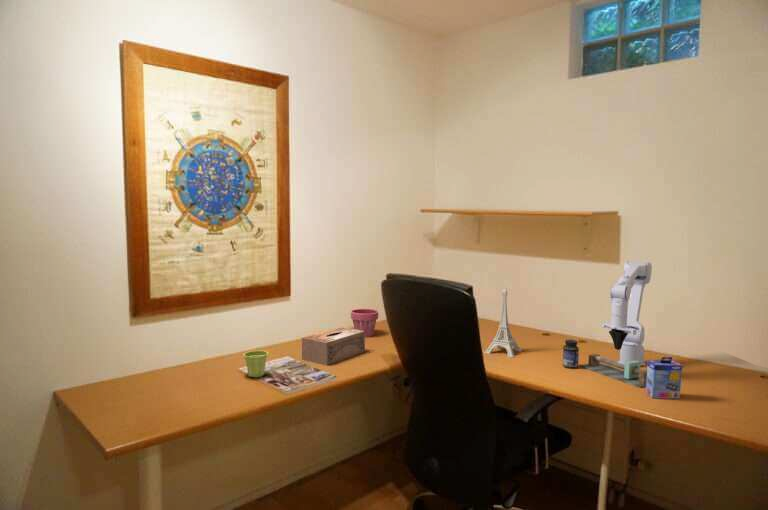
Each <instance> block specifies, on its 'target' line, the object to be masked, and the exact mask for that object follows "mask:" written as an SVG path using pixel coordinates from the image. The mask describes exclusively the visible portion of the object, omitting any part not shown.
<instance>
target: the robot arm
mask: <svg viewBox="0 0 768 510" xmlns="http://www.w3.org/2000/svg"><path fill="white" fill-rule="evenodd" d="M652 268H653V267H652V263H651V262H649V261H647V262H645V261H644V262H643V261H629V260H627V261H625V262H624V265H623V273H624V274H623V275H621V276H620V277H619V279H618V280H617V282H616V283H615V284H613V285H611V287H610V289H609V290H610V291H609V297H610V303H611V317H610V322H608V321H605V322H604V321H603V322H601V327H602V328H606V329H609V332H608V334H609V335H610V337H611V339H612V342H613V347H614V350H619V360H617V361H615V362H618V363H621V364H625V362H629V361H635V360H636V361H639V362H640V367H641V366H646V365H647V364H646V363H645V352H646V351H645V347H644V345H643V343H644V341H645V327H644V326H643V324H642V323H641V322H639V319H640V315H641V306H642V301H643V294H644V289H645V286H646V285H648V284H649V283H650V282H651V279H652V278H651V277H652V271H653V270H652Z"/></svg>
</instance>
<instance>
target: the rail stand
mask: <svg viewBox="0 0 768 510" xmlns="http://www.w3.org/2000/svg"><path fill="white" fill-rule="evenodd" d="M580 367H581V368H583V369H586V370H590V371H592V372H594V373H597V374H600V375H603V376H606V377H608V378H611V379H614V380H617V381H620V382H623V383H625V384H629V385H631V386H634V387H637V388H640V389H641V388H646V381H647V369H644V370H643V369H641V368H640V369H637V368H636V367H633V366H632V367H631V373H633V374H634V373H635V374H638V375H639V377H637V378H632V379H627V378H624V367H625V364H621V363H618V362H616V361H615V360H611V359H609V358H606V357H602V356H601V355H600V354H598V353H593V354H592V353H591V354H588V362H587V364H582V365H580Z"/></svg>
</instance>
